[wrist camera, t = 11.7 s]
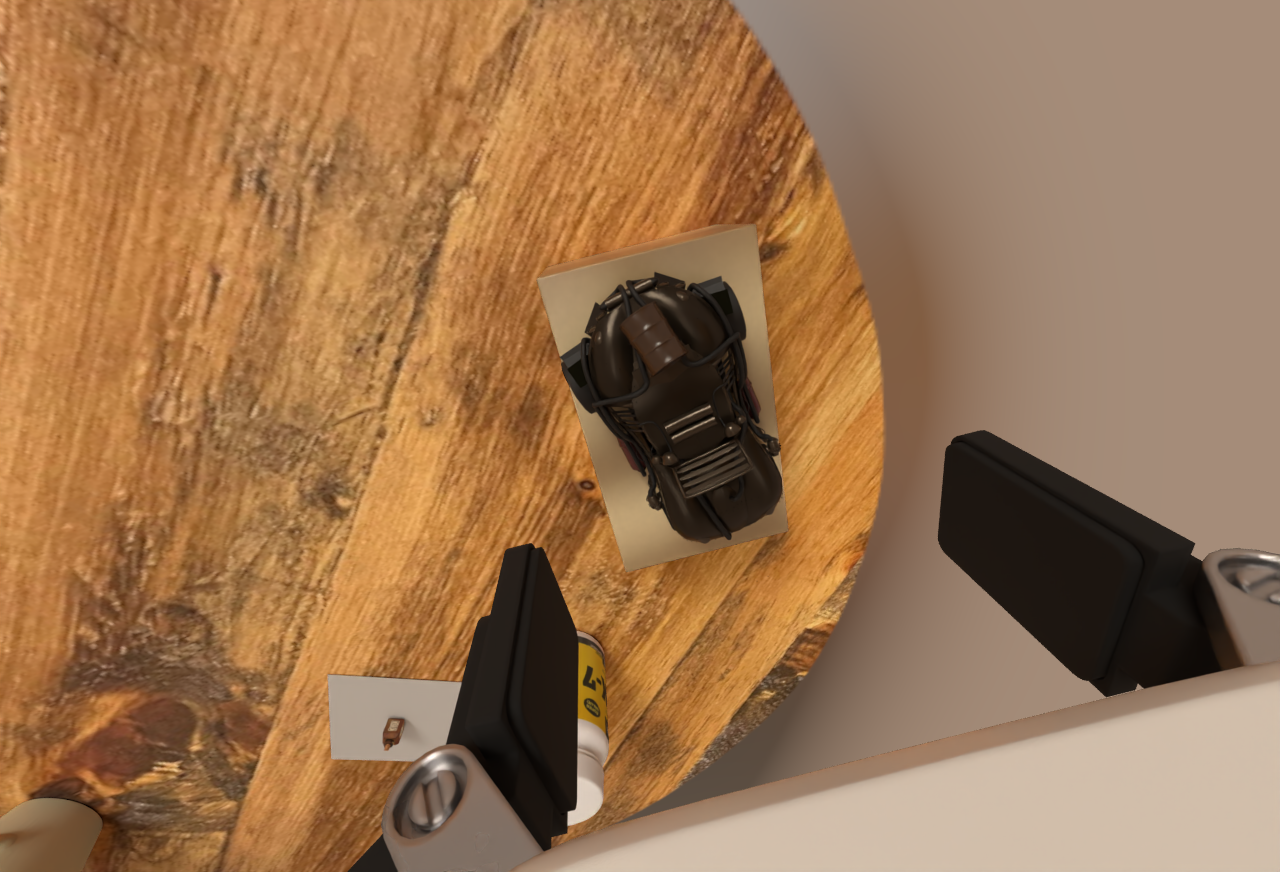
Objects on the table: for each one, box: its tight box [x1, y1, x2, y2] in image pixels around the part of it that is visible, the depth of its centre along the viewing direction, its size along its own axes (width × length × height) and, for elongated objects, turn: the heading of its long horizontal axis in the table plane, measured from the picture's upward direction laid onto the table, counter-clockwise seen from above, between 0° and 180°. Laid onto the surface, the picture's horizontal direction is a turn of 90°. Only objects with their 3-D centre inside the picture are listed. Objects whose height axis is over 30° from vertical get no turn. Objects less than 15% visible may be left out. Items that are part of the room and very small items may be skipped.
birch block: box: [537, 224, 788, 572], centre depth 20 cm, size 13×8×5 cm, turn 13°
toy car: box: [560, 272, 783, 544], centre depth 16 cm, size 6×12×4 cm, turn 25°
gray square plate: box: [328, 675, 462, 761], centre depth 29 cm, size 8×8×2 cm
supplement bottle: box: [568, 631, 609, 826], centre depth 26 cm, size 5×5×8 cm
